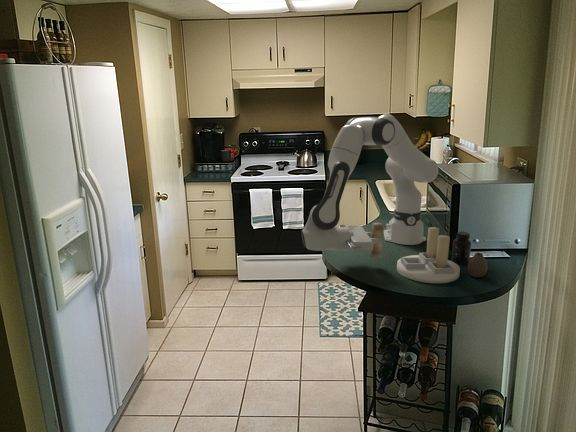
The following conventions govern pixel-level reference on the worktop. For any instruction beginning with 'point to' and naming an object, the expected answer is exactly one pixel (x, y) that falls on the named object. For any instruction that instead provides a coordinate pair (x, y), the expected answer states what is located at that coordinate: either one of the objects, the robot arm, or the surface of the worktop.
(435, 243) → the stool seat
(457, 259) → the supplement bottle
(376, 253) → the stool leg
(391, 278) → the worktop surface
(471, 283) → the worktop surface
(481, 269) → the vase
